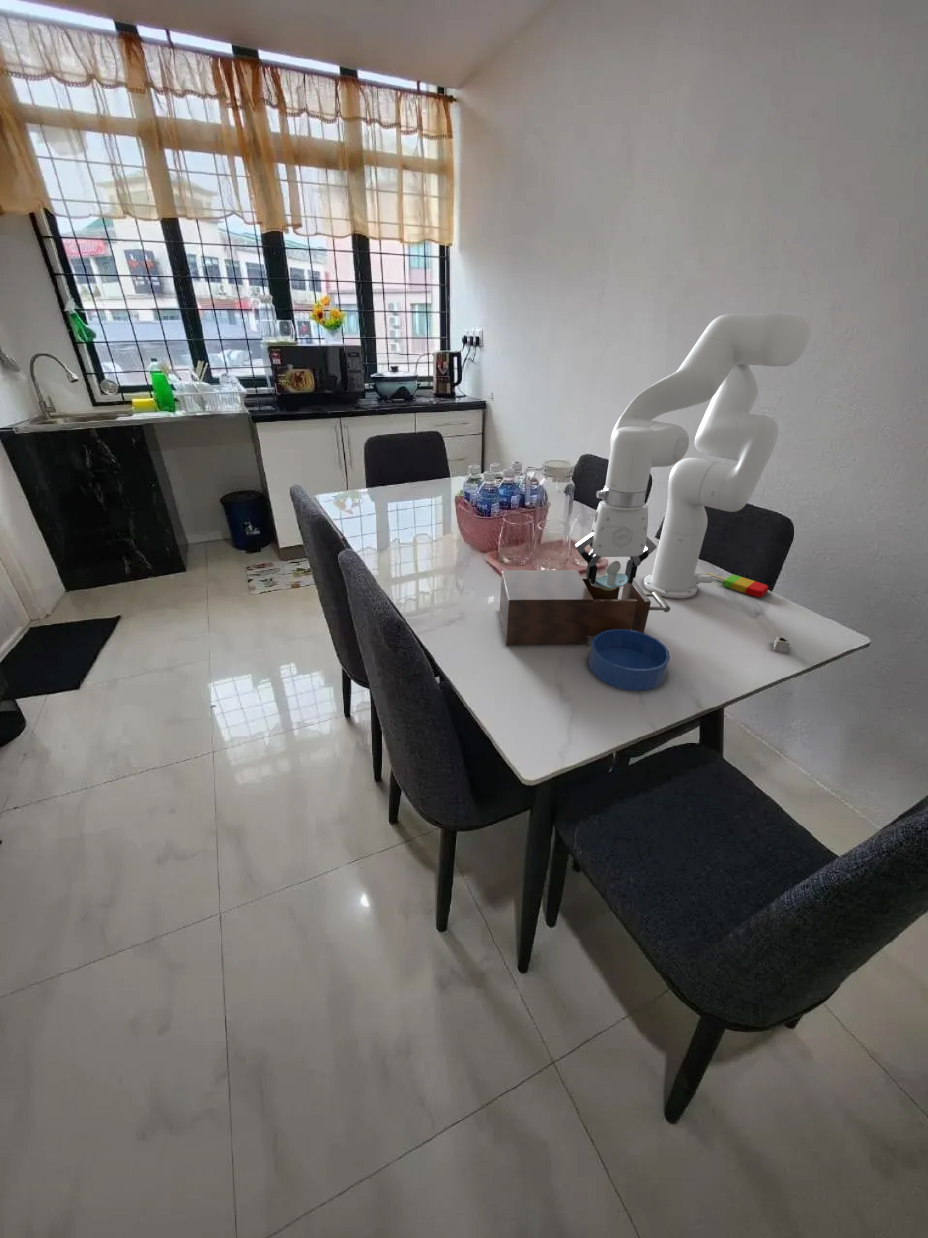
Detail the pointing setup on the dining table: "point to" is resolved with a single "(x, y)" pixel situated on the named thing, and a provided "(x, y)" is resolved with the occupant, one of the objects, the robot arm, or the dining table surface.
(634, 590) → the drawer
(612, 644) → the bowl
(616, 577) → the pacifier
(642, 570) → the dining table surface
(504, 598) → the cabinet
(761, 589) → the popsicle
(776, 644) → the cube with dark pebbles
